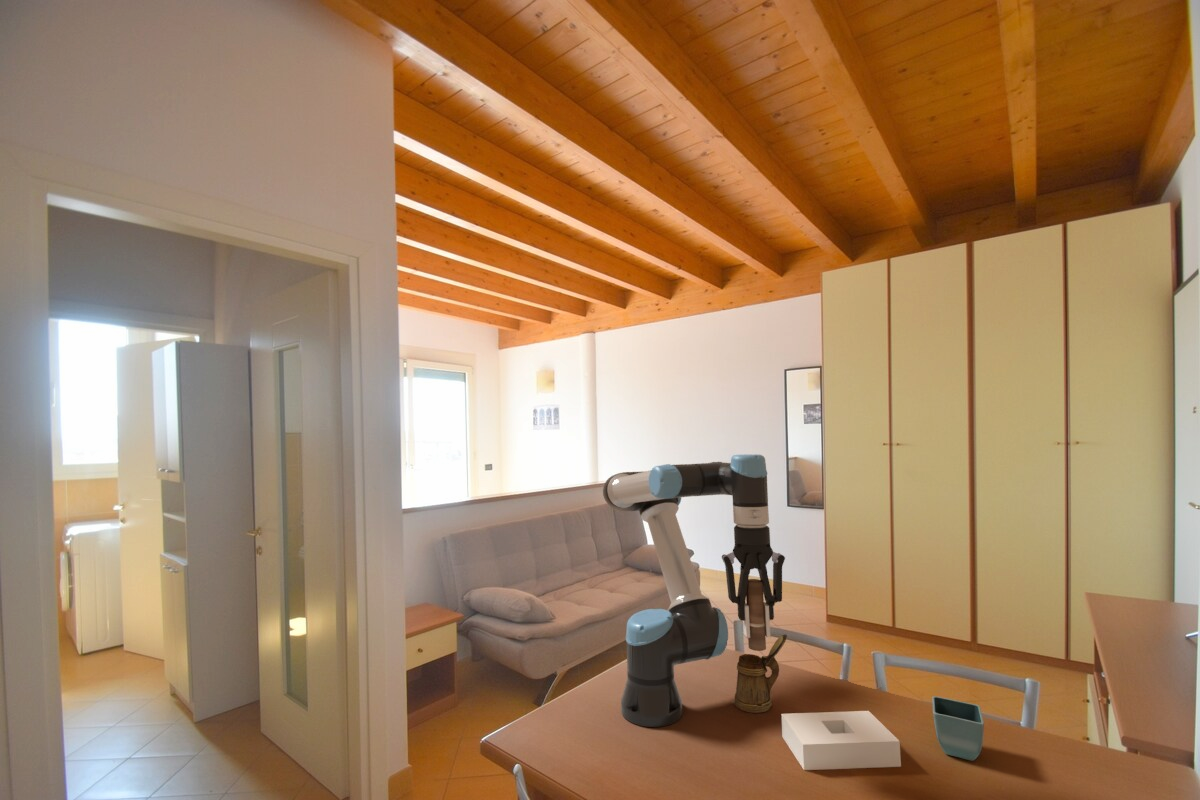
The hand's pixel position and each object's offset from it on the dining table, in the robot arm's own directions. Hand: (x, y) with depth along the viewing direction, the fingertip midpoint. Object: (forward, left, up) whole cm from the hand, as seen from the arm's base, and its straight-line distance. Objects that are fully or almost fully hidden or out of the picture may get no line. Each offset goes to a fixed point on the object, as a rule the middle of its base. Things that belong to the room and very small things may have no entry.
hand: (756, 634), depth 115 cm
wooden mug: (-21, +7, -25) cm, 33 cm away
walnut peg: (0, 0, -3) cm, 3 cm away
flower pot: (+1, +42, -25) cm, 49 cm away
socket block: (-1, +17, -25) cm, 30 cm away
